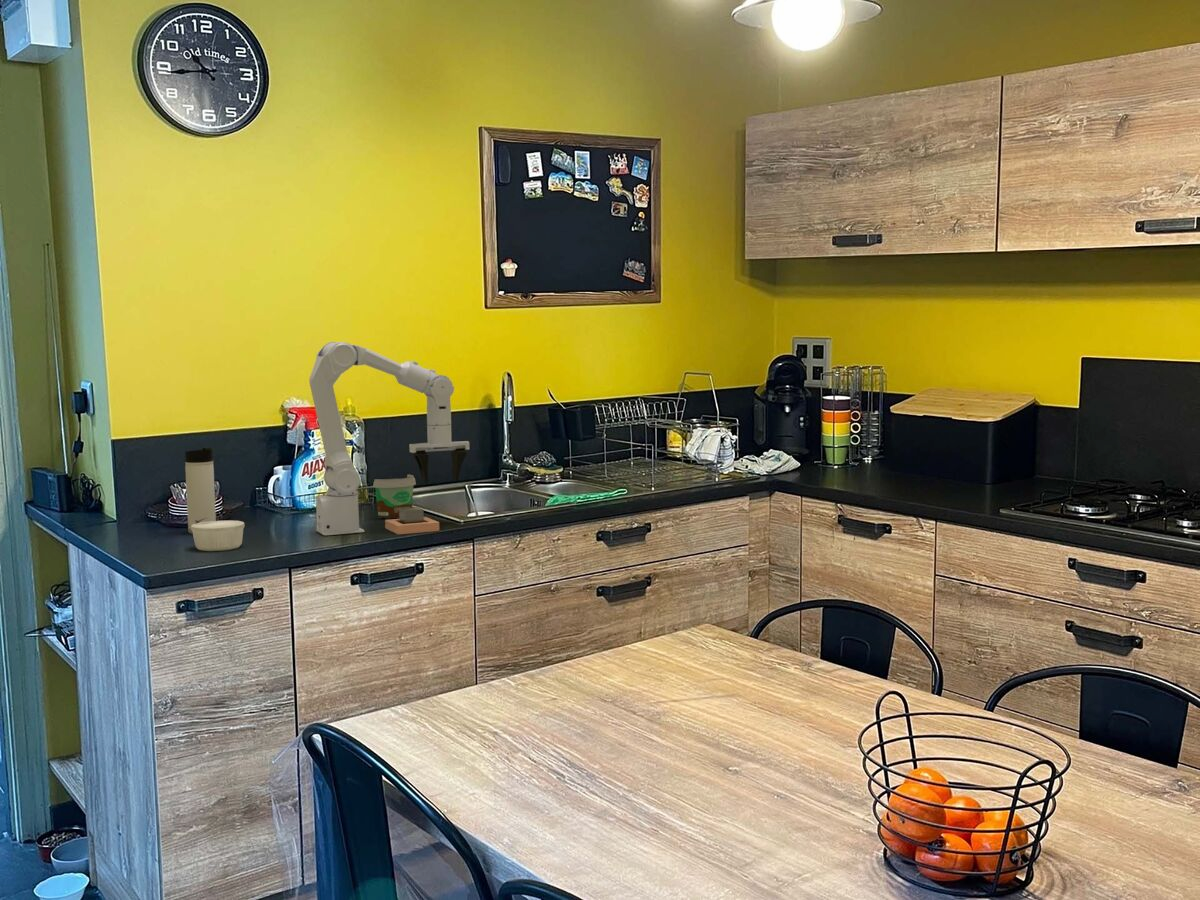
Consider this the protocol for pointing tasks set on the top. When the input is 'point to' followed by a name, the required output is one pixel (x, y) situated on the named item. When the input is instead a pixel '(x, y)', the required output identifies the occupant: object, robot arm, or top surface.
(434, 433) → the robot arm
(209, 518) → the travel mug
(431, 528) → the hole plate
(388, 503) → the food container
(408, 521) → the steel block
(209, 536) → the ramekin
